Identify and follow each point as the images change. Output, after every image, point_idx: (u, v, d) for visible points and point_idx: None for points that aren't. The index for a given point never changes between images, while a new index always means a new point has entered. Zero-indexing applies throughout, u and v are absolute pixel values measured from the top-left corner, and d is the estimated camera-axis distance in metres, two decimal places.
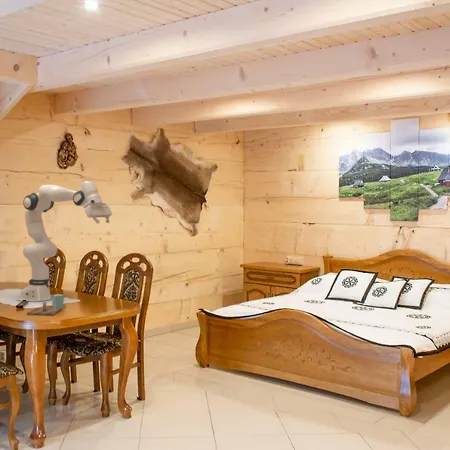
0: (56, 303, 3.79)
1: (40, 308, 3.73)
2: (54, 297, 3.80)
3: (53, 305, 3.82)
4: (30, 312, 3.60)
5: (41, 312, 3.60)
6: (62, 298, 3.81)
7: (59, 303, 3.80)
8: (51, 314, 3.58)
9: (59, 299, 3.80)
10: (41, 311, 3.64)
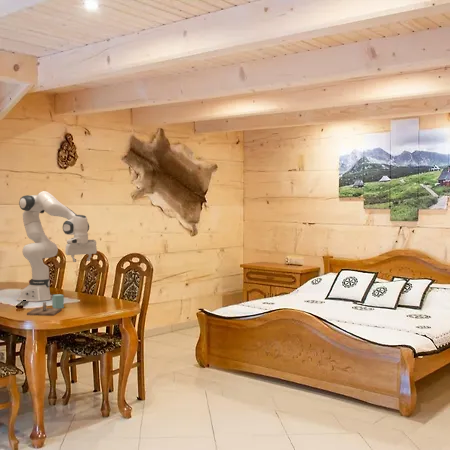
0: (56, 303, 3.79)
1: (40, 308, 3.73)
2: (54, 297, 3.80)
3: (53, 305, 3.82)
4: (30, 312, 3.60)
5: (41, 312, 3.60)
6: (62, 298, 3.81)
7: (59, 303, 3.80)
8: (51, 314, 3.58)
9: (59, 299, 3.80)
10: (41, 311, 3.64)
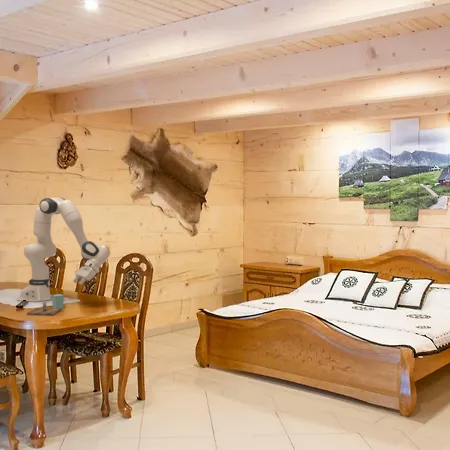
0: (56, 303, 3.79)
1: (40, 308, 3.73)
2: (54, 297, 3.80)
3: (53, 305, 3.82)
4: (30, 312, 3.60)
5: (41, 312, 3.60)
6: (62, 298, 3.81)
7: (59, 303, 3.80)
8: (51, 314, 3.58)
9: (59, 299, 3.80)
10: (41, 311, 3.64)
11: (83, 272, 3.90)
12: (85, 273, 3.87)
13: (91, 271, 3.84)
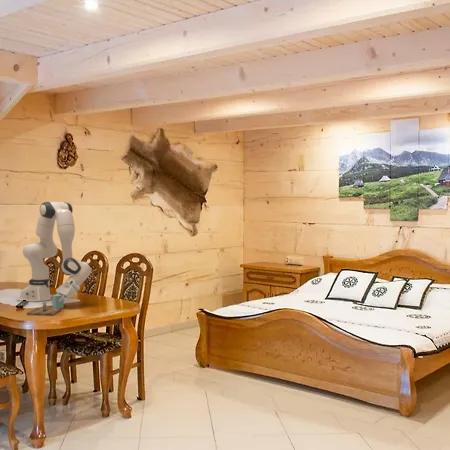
0: (56, 303, 3.79)
1: (40, 308, 3.73)
2: (54, 297, 3.80)
3: (53, 305, 3.82)
4: (30, 312, 3.60)
5: (41, 312, 3.60)
6: None
7: (59, 303, 3.80)
8: (51, 314, 3.58)
9: None
10: (41, 311, 3.64)
11: (63, 289, 3.83)
12: (65, 291, 3.80)
13: (71, 289, 3.78)
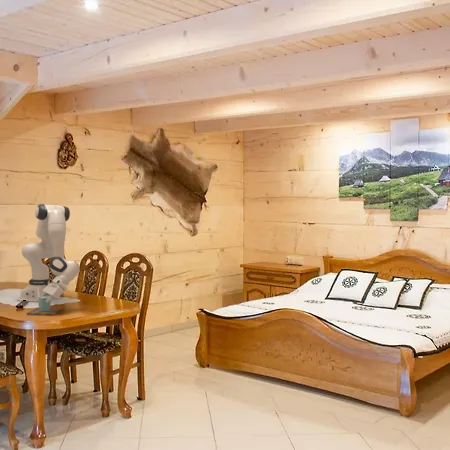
0: (42, 306, 3.62)
1: None
2: (40, 299, 3.63)
3: (39, 308, 3.65)
4: (30, 312, 3.60)
5: (41, 312, 3.60)
6: None
7: (46, 306, 3.63)
8: (51, 314, 3.58)
9: None
10: None
11: (50, 289, 3.66)
12: (52, 291, 3.63)
13: (58, 289, 3.61)
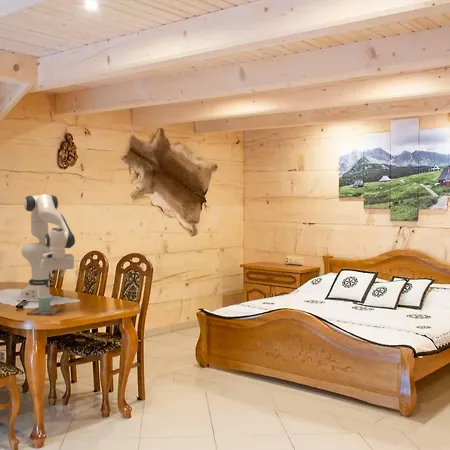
0: (42, 306, 3.62)
1: None
2: (40, 300, 3.63)
3: (39, 308, 3.65)
4: (30, 312, 3.60)
5: (41, 312, 3.60)
6: (48, 300, 3.64)
7: (45, 306, 3.63)
8: (51, 314, 3.58)
9: (45, 301, 3.63)
10: None
11: None
12: None
13: (41, 261, 3.66)
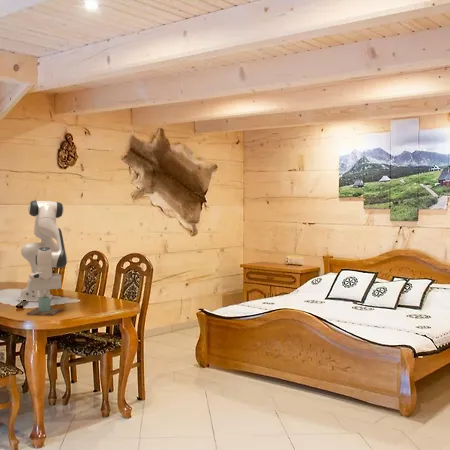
0: (42, 306, 3.62)
1: None
2: (40, 300, 3.63)
3: (39, 308, 3.65)
4: (30, 312, 3.60)
5: (41, 312, 3.60)
6: (48, 300, 3.64)
7: (45, 306, 3.63)
8: (51, 314, 3.58)
9: (46, 301, 3.63)
10: None
11: None
12: None
13: (28, 281, 3.61)
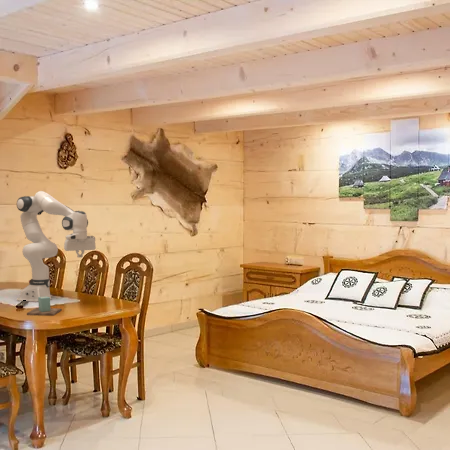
0: (42, 306, 3.62)
1: None
2: (40, 300, 3.63)
3: (39, 308, 3.65)
4: (30, 312, 3.60)
5: (41, 312, 3.60)
6: (48, 300, 3.64)
7: (45, 306, 3.63)
8: (51, 314, 3.58)
9: (45, 301, 3.63)
10: None
11: None
12: None
13: (65, 242, 3.87)
